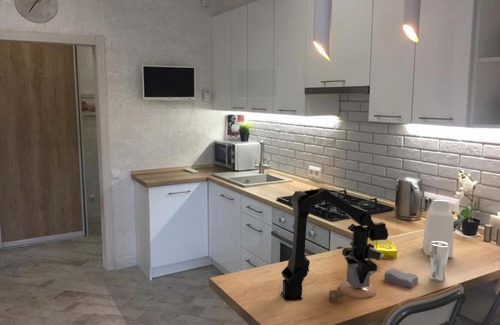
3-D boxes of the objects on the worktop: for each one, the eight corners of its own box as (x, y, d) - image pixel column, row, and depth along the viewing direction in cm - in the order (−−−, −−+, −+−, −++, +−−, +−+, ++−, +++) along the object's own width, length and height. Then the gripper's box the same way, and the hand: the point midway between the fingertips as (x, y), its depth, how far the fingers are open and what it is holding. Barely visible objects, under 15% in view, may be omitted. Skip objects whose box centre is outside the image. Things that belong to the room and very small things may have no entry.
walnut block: (332, 303, 159) (332, 294, 158) (329, 299, 162) (329, 290, 162) (341, 302, 159) (341, 293, 159) (338, 298, 163) (338, 289, 162)
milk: (425, 255, 209) (429, 202, 205) (422, 247, 220) (425, 196, 216) (452, 257, 206) (457, 204, 202) (447, 249, 217) (452, 198, 213)
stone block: (392, 278, 187) (381, 280, 179) (394, 267, 186) (384, 268, 179) (419, 287, 178) (409, 290, 171) (422, 276, 178) (411, 278, 171)
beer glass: (424, 276, 184) (427, 242, 182) (437, 274, 186) (440, 240, 184) (436, 282, 178) (439, 247, 175) (449, 280, 180) (452, 245, 178)
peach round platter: (347, 299, 162) (348, 296, 162) (333, 283, 175) (333, 281, 175) (382, 296, 164) (382, 293, 164) (365, 281, 178) (366, 278, 178)
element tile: (392, 248, 218) (392, 239, 217) (397, 259, 203) (397, 249, 203) (361, 246, 220) (361, 237, 220) (364, 257, 206) (364, 247, 205)
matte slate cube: (353, 287, 166) (354, 270, 165) (346, 280, 172) (347, 263, 171) (369, 286, 167) (370, 269, 166) (361, 279, 173) (362, 262, 172)
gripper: (391, 248, 159) (389, 288, 162) (368, 232, 177) (366, 269, 180) (363, 250, 157) (361, 291, 160) (342, 234, 175) (340, 271, 178)
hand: (357, 279), depth 169 cm, fingers closed on matte slate cube, 6 cm apart
